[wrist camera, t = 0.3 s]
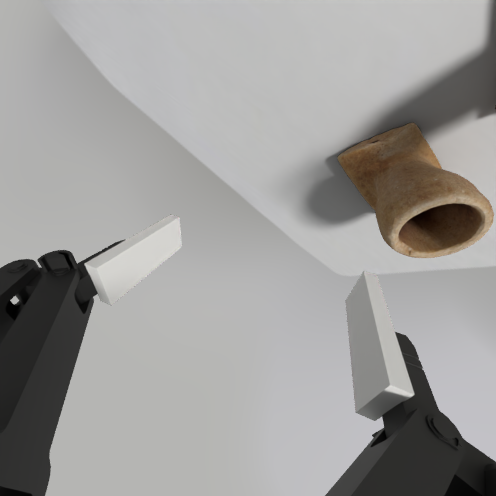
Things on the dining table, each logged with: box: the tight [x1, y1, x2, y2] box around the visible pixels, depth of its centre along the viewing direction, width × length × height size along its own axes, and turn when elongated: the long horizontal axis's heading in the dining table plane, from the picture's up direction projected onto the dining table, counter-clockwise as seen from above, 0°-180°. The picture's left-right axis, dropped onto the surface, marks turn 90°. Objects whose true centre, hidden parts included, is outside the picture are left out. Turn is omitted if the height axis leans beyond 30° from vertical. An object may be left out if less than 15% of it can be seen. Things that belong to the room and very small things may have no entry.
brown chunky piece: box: [338, 123, 494, 258], centre depth 26 cm, size 15×12×15 cm
